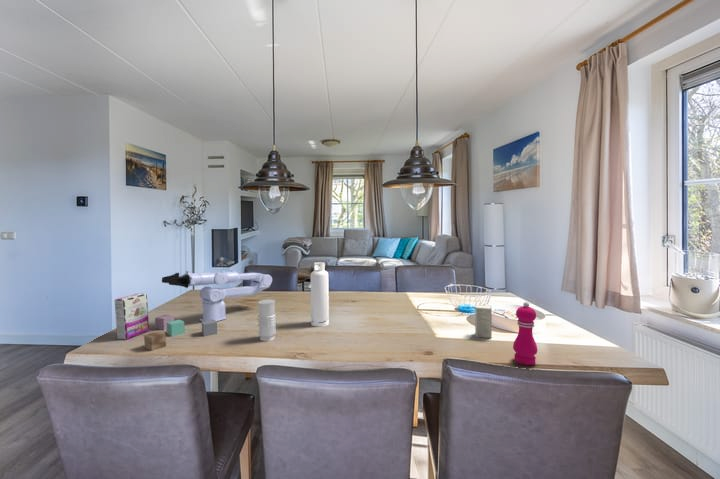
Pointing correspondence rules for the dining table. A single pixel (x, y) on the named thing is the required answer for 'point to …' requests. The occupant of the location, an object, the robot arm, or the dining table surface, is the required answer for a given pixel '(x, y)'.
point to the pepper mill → (525, 336)
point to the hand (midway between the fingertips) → (165, 281)
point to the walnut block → (155, 340)
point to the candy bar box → (131, 316)
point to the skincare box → (483, 321)
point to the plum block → (163, 321)
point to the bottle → (319, 295)
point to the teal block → (175, 327)
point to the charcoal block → (209, 327)
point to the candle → (267, 320)
